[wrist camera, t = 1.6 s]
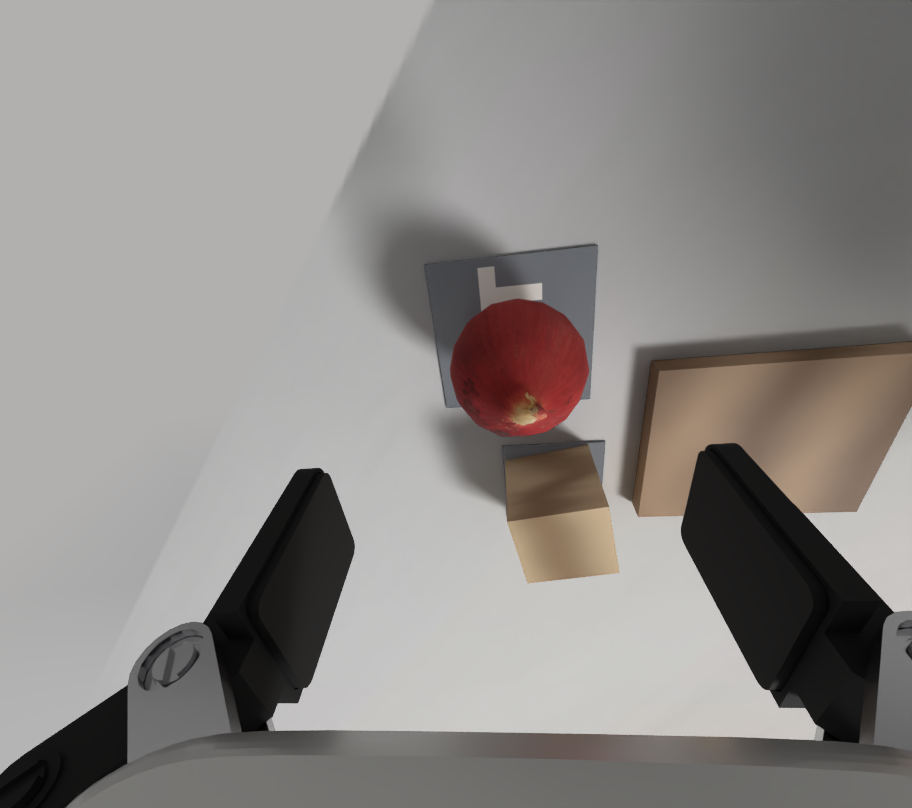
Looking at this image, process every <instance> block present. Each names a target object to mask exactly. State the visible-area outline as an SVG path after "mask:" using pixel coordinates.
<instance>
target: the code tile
mask: <svg viewBox="0 0 912 808" xmlns="http://www.w3.org/2000/svg"><path fill="white" fill-rule="evenodd" d="M597 254H598V245H594V246H585V247H576V248H567V249H558V250H550V251H541V252H532V253H523V254H514V255H505V256H496V257H487V258H478V259H469V260H461V261H452V262H443V263H434V264H425V265H424V266H425V272H426V278H427V285H428V291H429V297H430V304H431V310H432V317H433V323H434V329H435V336H436V342H437V348H438V355H439V361H440V368H441V374H442V380H443V387H444V393H445V399H446V406H447V408H455V407H461V406H460V404H459V402H458V401H457V399H456V395H455V392H454V388H453V384H452V380H451V377H450V365H451V359H452V354H453V349H454V345H455V343H456V341H457V340H458V338H459V336H460V334H461V333H462V331H463V329H464V327H465V326H466V324H467V323H468V322H469V321H470V319H472V318H473V317H474V316H476V315H477V314H478V313H480V312H481V311H483V310H484V309H485V308H487V307H488V306H490V305H491V304H494V303H499V302H503V301H508V300H512V299H517V298H518V299H525V300H531V301H537V302H543V303H545V304H547V305H549V306H550V307H552V308H554V309H556V310H557V311H559V312H561V313H562V314H564V315H565V316H566V317H567V318H568V319H569V320H570V322H571V323H572V324H573V326H574V327H575V328H576V330H577V331H578V332H579V334H580V335H581V337H582V338H583V339H584V343H585V348H586V354H587V360H588V366H589V374H588V378H587V381H586V384H585V387H584V390H583V393H582V396H581V399H580V400H582V399H590V389H591V370H592V351H593V331H594V312H595V293H596V273H597Z"/></svg>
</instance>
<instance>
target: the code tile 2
mask: <svg viewBox="0 0 912 808" xmlns="http://www.w3.org/2000/svg"><path fill="white" fill-rule="evenodd" d="M584 445H588V446H589V449H590V452H591V455H592V458H593V461H594V464H595V467H596V469H597V472H598V475H599V478H600V481H601V484H602V479H603V466H604V453H605V441H589V442H569V443H548V444H528V445H507V446H502V449H503V462H504V474H505V487H506V473H505V460H508V459H514V458H519V457H525V456H530V455H536V454H541V453H546V452H552V451H557V450H563V449H568V448H574V447H579V446H584Z"/></svg>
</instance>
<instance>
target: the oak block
mask: <svg viewBox="0 0 912 808" xmlns="http://www.w3.org/2000/svg"><path fill="white" fill-rule="evenodd" d="M505 473H506V502H507V523H508V526H509V529H510V532H511V535H512V538H513V541H514V544H515V547H516V550H517V553H518V556H519V559H520V562H521V565H522V568H523V571H524V574H525V577H526V580H527V583H535V582H543V581H552V580H561V579H570V578H579V577H587V576H596V575H605V574H614V573H619V567H618V560H617V554H616V548H615V542H614V535H613V529H612V523H611V516H610V510H609V505H608V502H607V499H606V496H605V493H604V490H603V487H602V484H601V481H600V478H599V475H598V472H597V469H596V467H595V464H594V461H593V458H592V455H591V452H590V449H589V446H588V445H584V446H579V447H574V448H568V449H563V450H557V451H552V452H546V453H541V454H536V455H530V456H525V457H519V458H514V459H508V460H505Z"/></svg>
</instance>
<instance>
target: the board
mask: <svg viewBox="0 0 912 808" xmlns="http://www.w3.org/2000/svg"><path fill="white" fill-rule="evenodd" d="M911 406H912V342H902V343H888V344H874V345H861V346H847V347H834V348H820V349H806V350H793V351H779V352H766V353H752V354H739V355H725V356H711V357H698V358H684V359H671V360H657V361H651V366H650V374H649V381H648V389H647V396H646V404H645V411H644V419H643V426H642V434H641V442H640V449H639V457H638V464H637V472H636V479H635V487H634V494H633V502H632V503H633V506H634V508H635V511H636V513H637V515H638V517H652V516H684V513H685V509H686V504H687V500H688V496H689V491H690V487H691V483H692V478H693V474H694V470H695V465H696V461H697V457H698V454H699V452H700V451H705V448H706V447H707V446H708V445H710V444H724V443H737V444H739V445H740V446H741V447H742V448H743V449H744V450H745V451H746V452H747V454H748V455H749V456H750V457H751V458H752V459H753V460H754V461H755V462H756V463H757V464H758V466H759V467H760V468H761V469H762V470H763V471H764V472H765V473H766V474H767V475H768V477H769V478H770V479H771V480H772V481H773V482H774V483H775V484H776V485H777V486H778V487H779V489H780V490H781V491H782V492H783V493H784V494H785V495H786V496H787V497H788V498H789V499H790V501H791V502H792V503H794V504H795V505H796V506H797V507H798V508H799V510H800V511H801V512H802V513H819V512H857V510H858V508H859V506H860V504H861V502H862V500H863V498H864V496H865V494H866V493H867V491H868V489H869V487H870V485H871V483H872V481H873V479H874V477H875V475H876V473H877V471H878V470H879V468H880V466H881V464H882V462H883V460H884V458H885V456H886V454H887V452H888V450H889V448H890V446H891V445H892V443H893V441H894V439H895V437H896V435H897V433H898V431H899V429H900V427H901V425H902V423H903V422H904V420H905V418H906V416H907V414H908V412H909V410H910V408H911Z"/></svg>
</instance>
